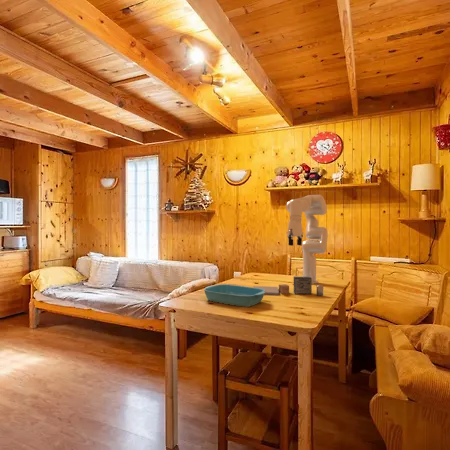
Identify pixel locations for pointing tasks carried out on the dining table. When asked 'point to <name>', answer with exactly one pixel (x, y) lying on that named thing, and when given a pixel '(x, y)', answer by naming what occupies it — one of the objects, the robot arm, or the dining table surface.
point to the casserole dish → (234, 294)
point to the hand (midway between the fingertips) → (295, 245)
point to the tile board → (269, 290)
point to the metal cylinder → (319, 290)
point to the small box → (303, 285)
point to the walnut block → (284, 289)
